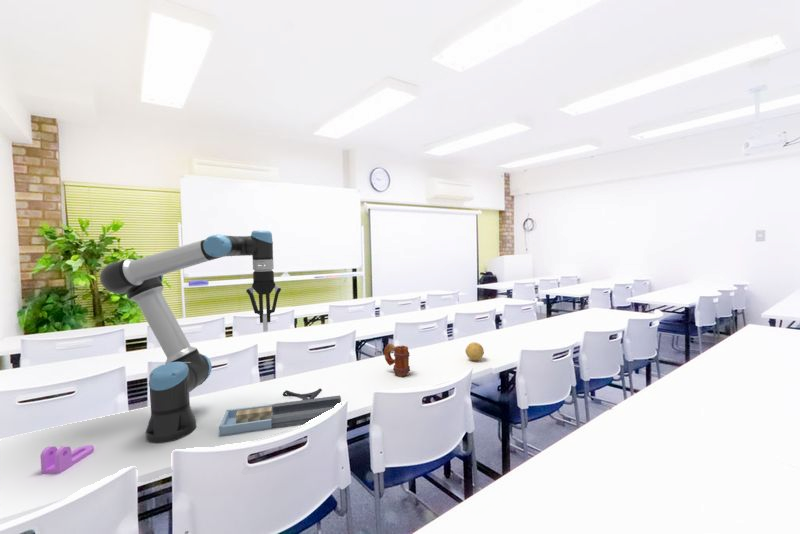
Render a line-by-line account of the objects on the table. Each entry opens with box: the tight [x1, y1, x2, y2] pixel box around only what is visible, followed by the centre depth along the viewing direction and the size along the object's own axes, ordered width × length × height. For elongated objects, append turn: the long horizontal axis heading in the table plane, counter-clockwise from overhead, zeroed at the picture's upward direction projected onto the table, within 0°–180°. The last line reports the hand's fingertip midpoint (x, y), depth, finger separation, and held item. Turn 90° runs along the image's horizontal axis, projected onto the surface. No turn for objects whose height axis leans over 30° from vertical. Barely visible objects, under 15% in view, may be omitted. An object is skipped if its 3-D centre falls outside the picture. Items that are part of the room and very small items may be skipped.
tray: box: [218, 403, 274, 437], centre depth 134 cm, size 17×14×3 cm
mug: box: [383, 343, 411, 377], centre depth 184 cm, size 15×8×15 cm, turn 58°
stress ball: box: [465, 342, 485, 362], centre depth 203 cm, size 10×10×10 cm
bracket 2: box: [282, 388, 323, 400], centre depth 158 cm, size 14×15×3 cm
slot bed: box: [271, 395, 342, 430], centre depth 140 cm, size 26×14×4 cm, turn 106°
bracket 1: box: [39, 444, 95, 475], centre depth 112 cm, size 13×6×7 cm, turn 178°
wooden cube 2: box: [248, 408, 260, 422], centre depth 134 cm, size 4×4×4 cm
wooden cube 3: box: [260, 406, 272, 420], centre depth 135 cm, size 4×4×4 cm
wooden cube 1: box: [236, 409, 249, 424], centre depth 133 cm, size 4×4×4 cm
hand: (265, 330), depth 142 cm, fingers closed
